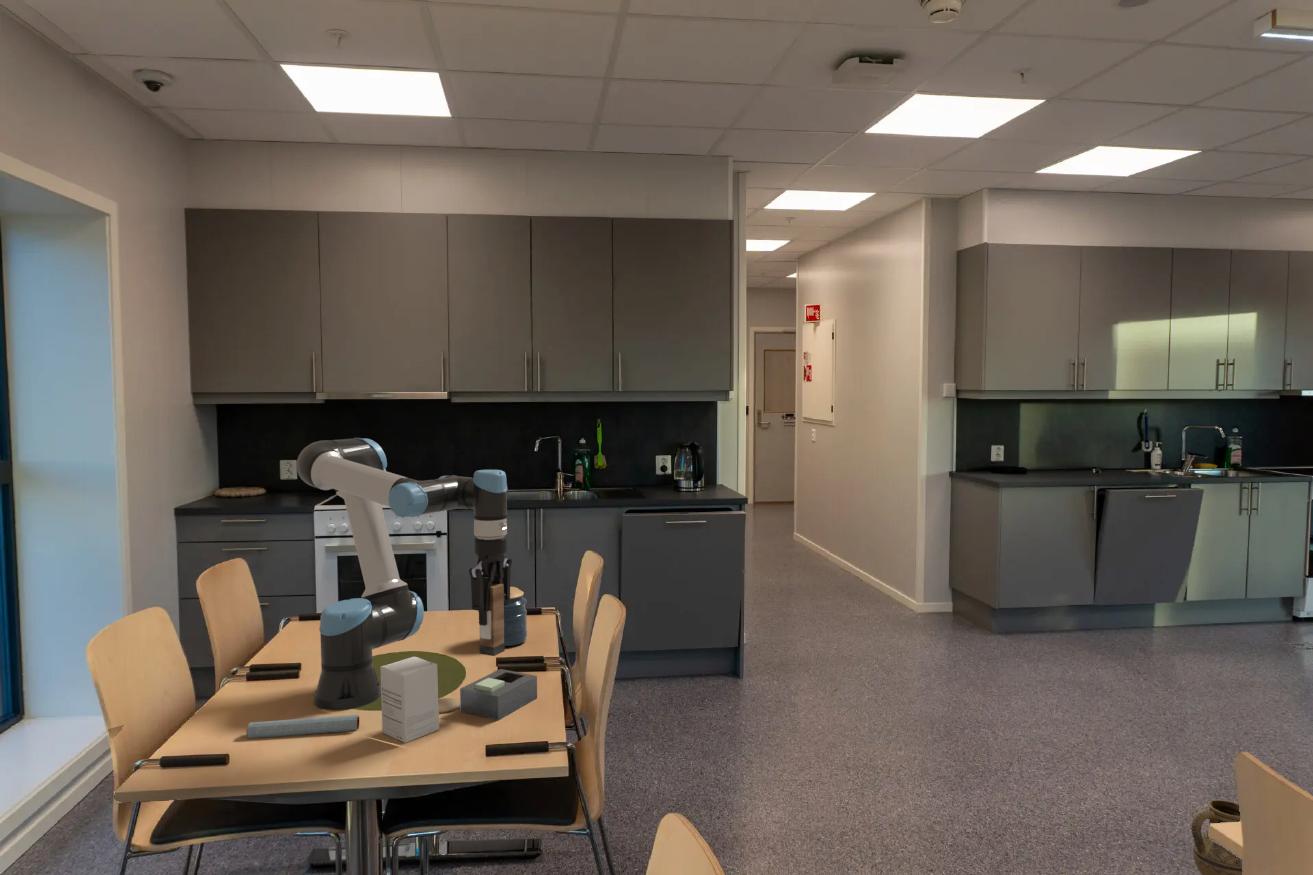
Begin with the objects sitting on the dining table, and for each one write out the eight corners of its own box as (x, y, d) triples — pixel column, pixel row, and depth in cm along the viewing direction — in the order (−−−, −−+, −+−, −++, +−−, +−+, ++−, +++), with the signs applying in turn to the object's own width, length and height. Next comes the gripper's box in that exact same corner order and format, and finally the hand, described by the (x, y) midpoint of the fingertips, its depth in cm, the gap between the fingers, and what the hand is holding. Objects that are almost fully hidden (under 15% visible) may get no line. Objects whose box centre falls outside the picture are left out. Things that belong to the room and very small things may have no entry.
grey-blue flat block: (246, 741, 175) (245, 726, 175) (255, 729, 182) (254, 714, 182) (357, 733, 179) (356, 717, 179) (362, 721, 186) (361, 706, 186)
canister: (522, 632, 253) (521, 575, 252) (531, 644, 241) (530, 585, 240) (479, 636, 248) (479, 579, 247) (487, 649, 236) (486, 589, 235)
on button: (504, 691, 192) (504, 680, 192) (491, 698, 188) (491, 687, 187) (488, 688, 194) (488, 677, 194) (475, 694, 190) (475, 684, 190)
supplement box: (416, 719, 186) (415, 654, 185) (440, 730, 180) (438, 663, 179) (380, 732, 179) (379, 665, 178) (404, 743, 173) (402, 674, 172)
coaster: (445, 715, 188) (445, 713, 188) (418, 709, 191) (418, 707, 191) (468, 703, 195) (468, 701, 195) (442, 698, 198) (442, 695, 198)
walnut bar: (479, 653, 191) (478, 585, 190) (490, 648, 194) (489, 582, 193) (493, 656, 189) (493, 587, 188) (504, 650, 192) (503, 584, 192)
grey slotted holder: (537, 697, 198) (536, 675, 198) (498, 720, 185) (498, 696, 185) (500, 690, 203) (500, 668, 203) (460, 711, 190) (460, 688, 190)
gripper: (480, 544, 181) (482, 647, 182) (525, 531, 196) (526, 627, 197) (454, 541, 184) (455, 643, 185) (499, 529, 199) (500, 623, 201)
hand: (491, 635), depth 191 cm, fingers closed on walnut bar, 4 cm apart
